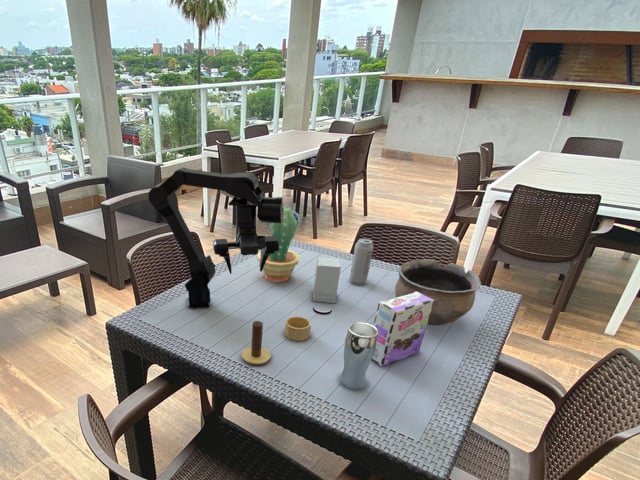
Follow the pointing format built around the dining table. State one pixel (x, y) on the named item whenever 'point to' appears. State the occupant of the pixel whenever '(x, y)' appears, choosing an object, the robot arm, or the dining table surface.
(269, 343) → the dining table surface
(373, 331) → the beer glass
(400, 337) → the candy box
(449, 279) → the ceramic bowl
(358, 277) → the energy drink can
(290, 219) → the potted cactus
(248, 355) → the peg on round base
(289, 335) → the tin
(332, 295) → the white packaging box
